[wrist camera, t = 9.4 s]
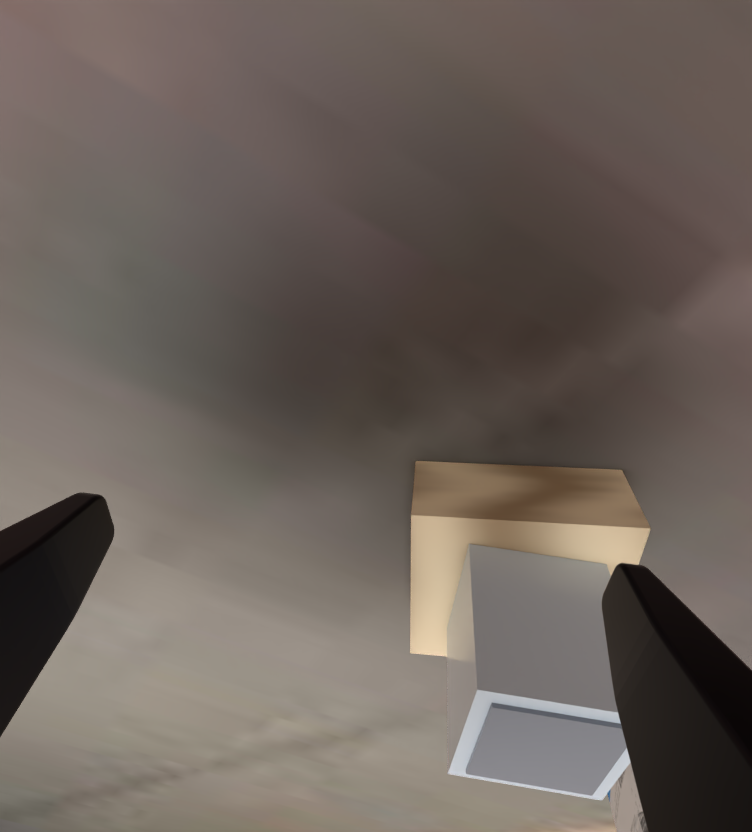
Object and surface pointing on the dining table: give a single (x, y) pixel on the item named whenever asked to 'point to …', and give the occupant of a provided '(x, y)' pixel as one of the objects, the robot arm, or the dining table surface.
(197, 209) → the dining table surface
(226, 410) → the dining table surface
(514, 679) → the gray paneled cube
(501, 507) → the beige square block
